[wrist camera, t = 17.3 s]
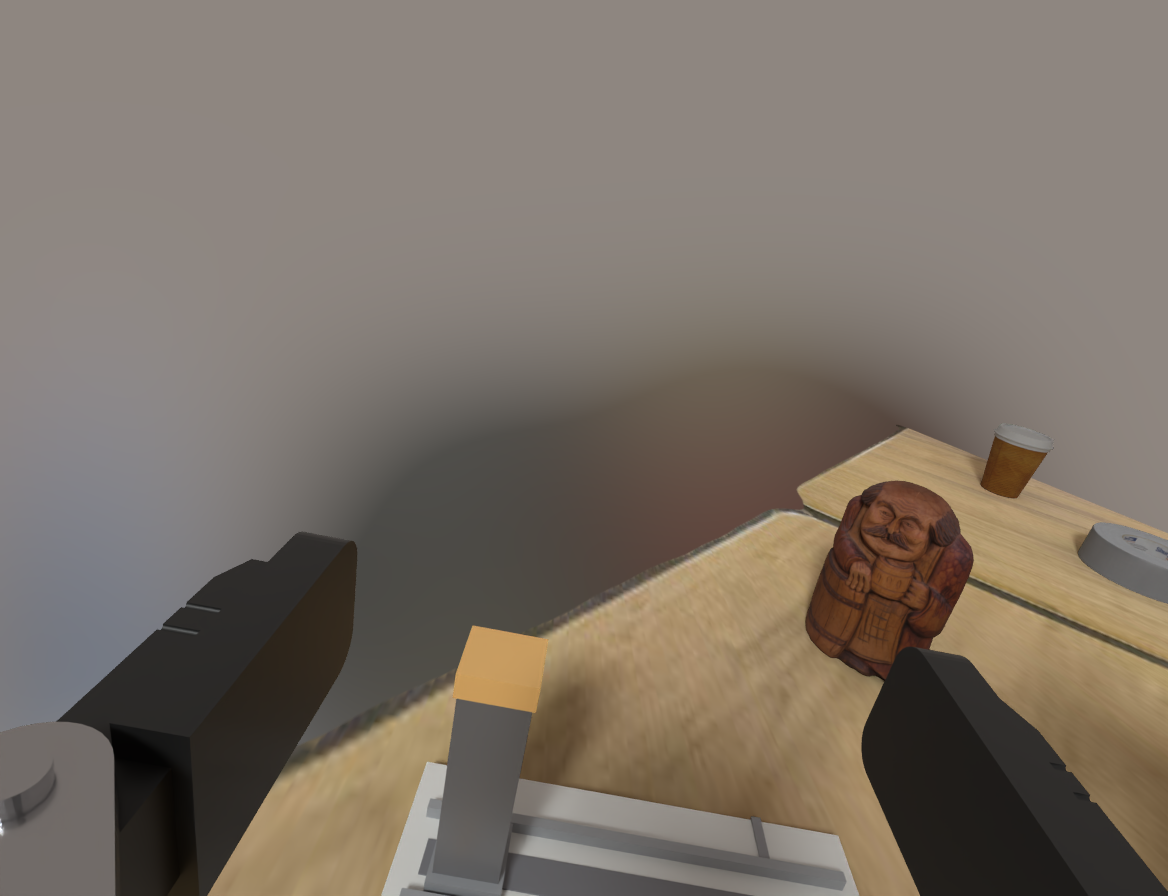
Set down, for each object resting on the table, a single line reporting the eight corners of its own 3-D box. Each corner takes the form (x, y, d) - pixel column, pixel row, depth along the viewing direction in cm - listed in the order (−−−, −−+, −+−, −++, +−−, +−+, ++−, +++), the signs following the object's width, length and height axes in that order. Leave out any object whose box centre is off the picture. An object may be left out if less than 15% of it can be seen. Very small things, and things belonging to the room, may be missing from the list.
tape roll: (1223, 601, 90) (1243, 572, 88) (1179, 617, 83) (1200, 585, 81) (1105, 545, 103) (1120, 518, 101) (1057, 555, 95) (1073, 525, 93)
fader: (511, 833, 36) (550, 636, 31) (499, 904, 33) (542, 694, 27) (443, 821, 36) (471, 621, 31) (423, 891, 32) (452, 677, 27)
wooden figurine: (785, 633, 63) (845, 471, 56) (809, 610, 67) (867, 458, 61) (907, 703, 56) (991, 529, 50) (924, 672, 61) (1003, 509, 54)
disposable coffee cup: (1016, 488, 122) (1043, 431, 118) (1036, 507, 113) (1066, 446, 109) (964, 475, 124) (989, 418, 120) (980, 493, 115) (1008, 433, 111)
